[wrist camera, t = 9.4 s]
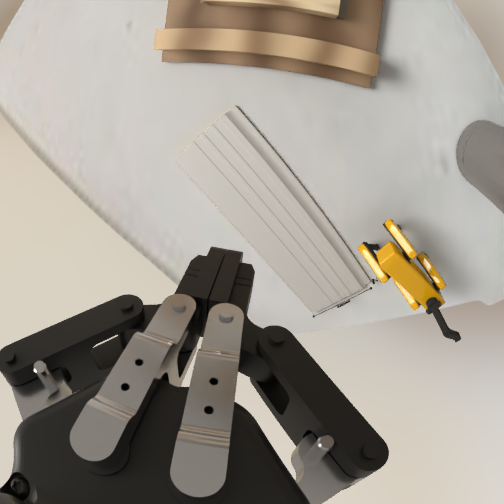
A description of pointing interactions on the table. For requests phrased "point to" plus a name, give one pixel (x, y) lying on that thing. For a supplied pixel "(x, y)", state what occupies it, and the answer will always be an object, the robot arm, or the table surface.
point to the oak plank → (288, 5)
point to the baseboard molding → (272, 211)
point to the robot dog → (409, 274)
